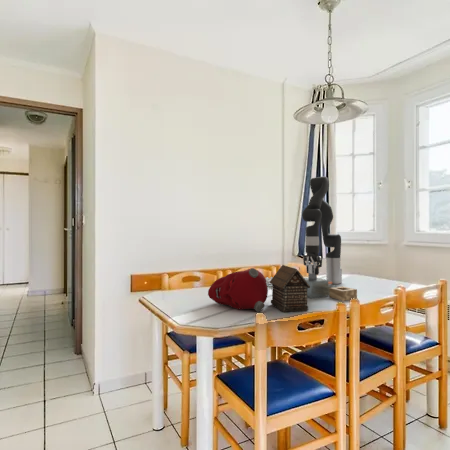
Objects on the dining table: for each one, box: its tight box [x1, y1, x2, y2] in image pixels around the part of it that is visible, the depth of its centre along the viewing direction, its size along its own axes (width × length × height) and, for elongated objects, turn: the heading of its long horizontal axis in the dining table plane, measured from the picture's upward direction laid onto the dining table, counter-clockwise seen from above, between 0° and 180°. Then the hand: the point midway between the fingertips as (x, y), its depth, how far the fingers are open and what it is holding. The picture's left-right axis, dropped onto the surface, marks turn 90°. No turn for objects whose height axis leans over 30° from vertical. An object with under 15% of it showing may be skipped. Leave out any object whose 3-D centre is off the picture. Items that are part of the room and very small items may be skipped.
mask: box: [207, 267, 269, 313], centre depth 170 cm, size 20×26×30 cm
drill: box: [307, 263, 318, 280], centre depth 193 cm, size 3×3×14 cm
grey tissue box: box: [303, 277, 338, 299], centre depth 194 cm, size 20×12×9 cm, turn 116°
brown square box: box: [329, 286, 358, 302], centre depth 185 cm, size 10×10×5 cm
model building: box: [270, 264, 310, 313], centre depth 166 cm, size 18×14×20 cm
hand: (312, 273), depth 193 cm, fingers open, 6 cm apart
